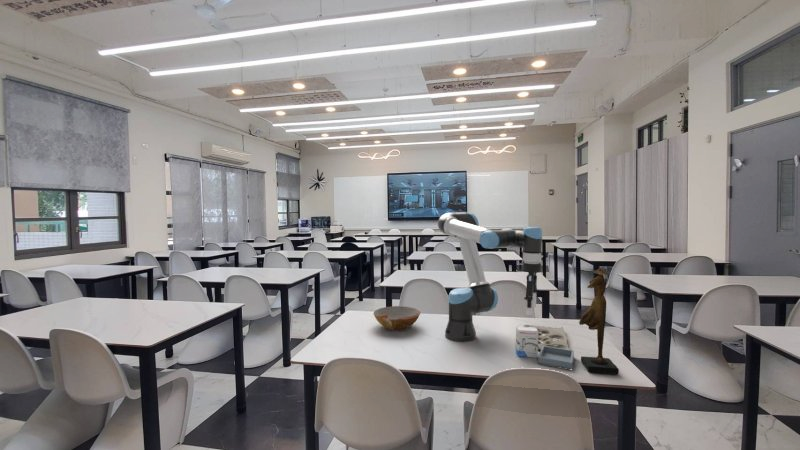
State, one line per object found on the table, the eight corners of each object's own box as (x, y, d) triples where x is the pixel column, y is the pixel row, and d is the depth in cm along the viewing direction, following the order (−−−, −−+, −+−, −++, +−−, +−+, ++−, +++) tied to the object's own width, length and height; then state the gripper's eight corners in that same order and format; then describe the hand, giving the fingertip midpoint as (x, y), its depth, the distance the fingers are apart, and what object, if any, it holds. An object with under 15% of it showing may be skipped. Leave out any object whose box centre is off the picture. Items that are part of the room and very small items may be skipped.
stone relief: (522, 350, 166) (570, 355, 160) (521, 344, 166) (570, 348, 160) (523, 328, 197) (564, 331, 190) (523, 323, 197) (564, 326, 190)
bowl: (367, 333, 189) (367, 317, 188) (380, 318, 213) (380, 305, 213) (415, 336, 183) (415, 321, 183) (423, 321, 208) (423, 307, 207)
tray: (538, 363, 151) (538, 356, 151) (542, 352, 163) (542, 345, 163) (571, 370, 145) (572, 362, 145) (573, 357, 157) (573, 350, 157)
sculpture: (583, 373, 142) (585, 270, 140) (575, 361, 153) (576, 266, 151) (619, 375, 140) (622, 271, 138) (608, 363, 151) (610, 266, 149)
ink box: (517, 356, 158) (517, 329, 158) (515, 352, 163) (515, 326, 163) (538, 357, 157) (538, 330, 156) (535, 353, 162) (536, 327, 161)
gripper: (538, 267, 146) (537, 319, 148) (543, 259, 169) (542, 304, 170) (518, 266, 150) (518, 317, 151) (526, 258, 172) (525, 302, 173)
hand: (531, 310), depth 161 cm, fingers open, 13 cm apart
